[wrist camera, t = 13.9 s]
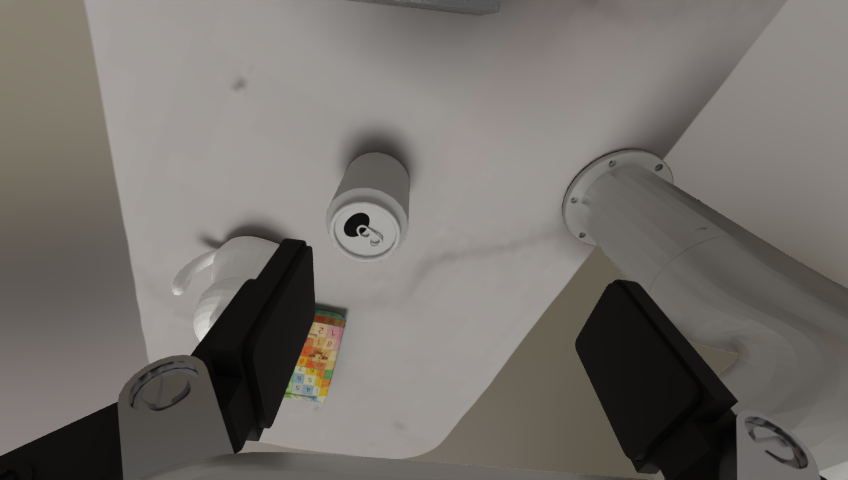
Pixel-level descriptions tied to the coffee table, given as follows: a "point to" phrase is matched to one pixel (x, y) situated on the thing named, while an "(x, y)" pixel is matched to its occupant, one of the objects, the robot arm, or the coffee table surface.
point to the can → (370, 208)
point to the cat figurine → (224, 276)
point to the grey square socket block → (445, 5)
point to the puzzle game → (317, 358)
